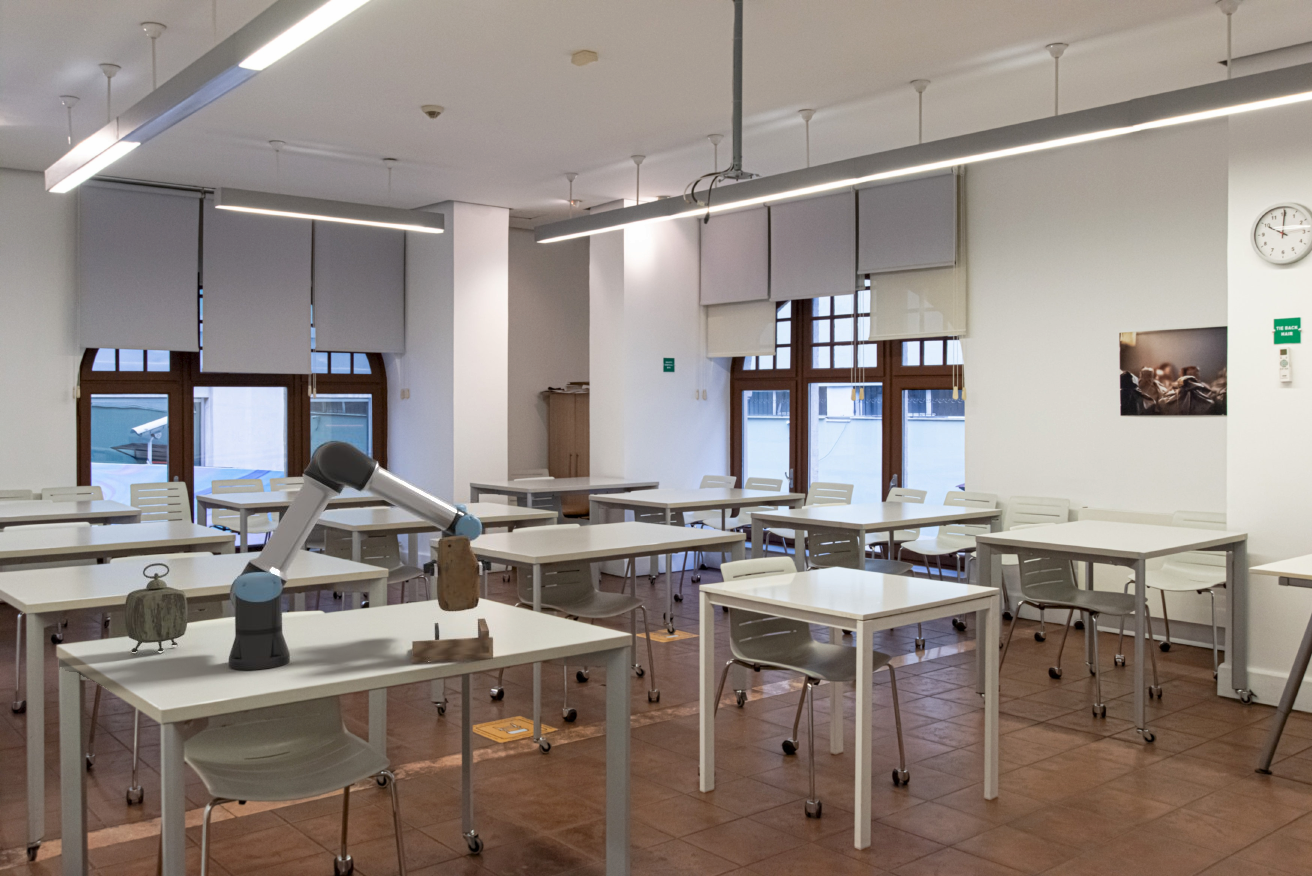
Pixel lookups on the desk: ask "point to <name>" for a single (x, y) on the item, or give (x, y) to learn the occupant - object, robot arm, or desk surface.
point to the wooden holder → (454, 647)
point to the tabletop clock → (156, 612)
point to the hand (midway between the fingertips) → (458, 571)
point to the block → (457, 574)
